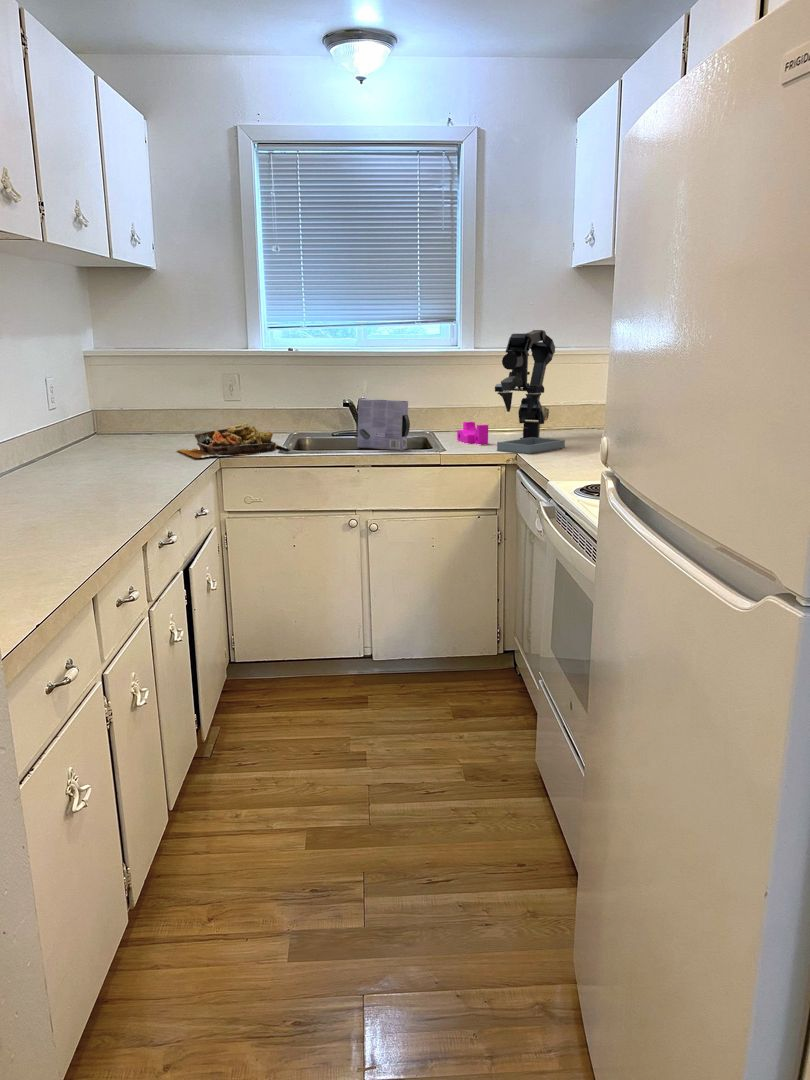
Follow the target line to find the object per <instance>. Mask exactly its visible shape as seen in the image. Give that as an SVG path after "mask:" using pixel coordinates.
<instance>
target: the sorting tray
mask: <svg viewBox="0 0 810 1080" xmlns="http://www.w3.org/2000/svg"><path fill="white" fill-rule="evenodd" d="M565 446H566V440H565V439H556V438H544V437H539V438H535V437H531V438H524V439H520V438H519V439H518V438H517V439H511V440H503V441H497V443H496V452H506V453H513V454H522V453H524V455H535V454H540V452H541V453H546V451H547V452H552V451H551V450H553V451H558V450H557V449H559V450H563V449H562V448H564V449H565ZM534 453H535V454H534Z"/></svg>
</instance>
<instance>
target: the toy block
mask: <svg viewBox="0 0 810 1080" xmlns="http://www.w3.org/2000/svg"><path fill="white" fill-rule="evenodd" d="M457 440H458V441H457ZM456 441H457V442H460V441H461V442H460V443H463V442H464V444H466V443H476V444H475V445H477V444H489V424H476V422H475V421H463V423H462V429H457V430H456Z"/></svg>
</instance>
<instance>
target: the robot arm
mask: <svg viewBox="0 0 810 1080" xmlns="http://www.w3.org/2000/svg"><path fill="white" fill-rule="evenodd" d="M529 351H531V356H532V359H533V361H534V363H533V367H532V372H530V371H528V367H529V365H528V364H529V356H530V353H529ZM555 353H556V345H555V344H554V341H553V339H552V338H551V337H550V336H549V335H547V333H546V330H543V329H537V330H535V329H533V330H531V331H529V332H526V333H512V334H511V335H510V337H509V339H508V342H507V346H506V348H505V355H504V356H503V357H502V360H501V364H502V366H503V368H504V369H506V370H509V373H508V377H505V378H503V380H501V381H500V383H496V384H495V386H494V392H495V393H496V392H497V395H499V396H501V398H502V400H503V403H504V405H505V409H506V412H508V413H510V412H511V408H512V400H513V394H514V393H513V392H514V391H515V392H526V393H525V397H523V398H522V399H521V400H520V401H521V402H520V406H519V408H518V420H519V421H518V422H519V424H523V428H522V437H519V439H524V438H531V437H535V438H540V433H541V431H540V429H541V428H540V427H541V425H544V424H545V422H546V421H545V414H544V412H543V409H542V408H543V406H542V403H541V401H540V398H541V395H542V394H544V393H545V387H544V385H543V383H544V379H545V375H546V369H547V366H548V365H549V364H550V362H551V361H552V360H553V358H554V357H553V356H554V355H555ZM510 370H511V371H510ZM530 373H531V377H530V382H528V376H529V375H530ZM511 391H512V392H511Z"/></svg>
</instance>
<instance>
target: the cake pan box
mask: <svg viewBox="0 0 810 1080" xmlns="http://www.w3.org/2000/svg"><path fill="white" fill-rule="evenodd" d="M357 406H358V407H357V408H358V410H357V411H358V412H357V414H358V416H357V417H358V418H357V448H360V449H361V448H362V449H374V450H391V451H393V450H394V451H404V450H407V449H408V446H407V445H408V435H409V433H410V426H411V424H410V423H411V421H410V417H409V401H408V400H394V399H393V400H392V399H375V398H372V399H371V398H358V405H357Z"/></svg>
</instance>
